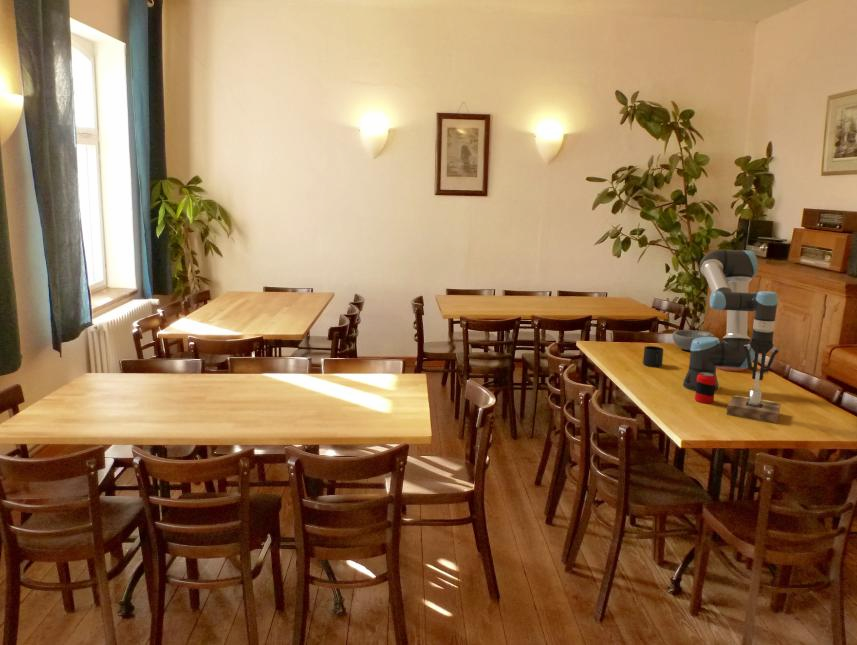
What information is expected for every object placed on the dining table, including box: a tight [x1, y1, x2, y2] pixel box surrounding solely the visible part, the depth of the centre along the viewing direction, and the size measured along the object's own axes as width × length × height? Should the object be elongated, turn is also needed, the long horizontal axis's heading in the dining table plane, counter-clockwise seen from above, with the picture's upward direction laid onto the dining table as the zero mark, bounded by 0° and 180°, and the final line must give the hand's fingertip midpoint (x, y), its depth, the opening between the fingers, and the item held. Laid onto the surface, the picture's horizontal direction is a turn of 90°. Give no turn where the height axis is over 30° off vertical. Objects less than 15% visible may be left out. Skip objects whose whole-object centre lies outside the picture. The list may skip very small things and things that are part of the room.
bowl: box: [672, 329, 716, 352], centre depth 379 cm, size 23×22×10 cm
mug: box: [642, 345, 664, 368], centre depth 342 cm, size 9×12×9 cm
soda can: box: [694, 372, 716, 404], centre depth 284 cm, size 8×8×12 cm
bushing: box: [748, 388, 763, 408], centre depth 268 cm, size 4×4×10 cm
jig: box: [726, 395, 781, 424], centre depth 268 cm, size 18×14×5 cm
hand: (756, 387), depth 266 cm, fingers closed
